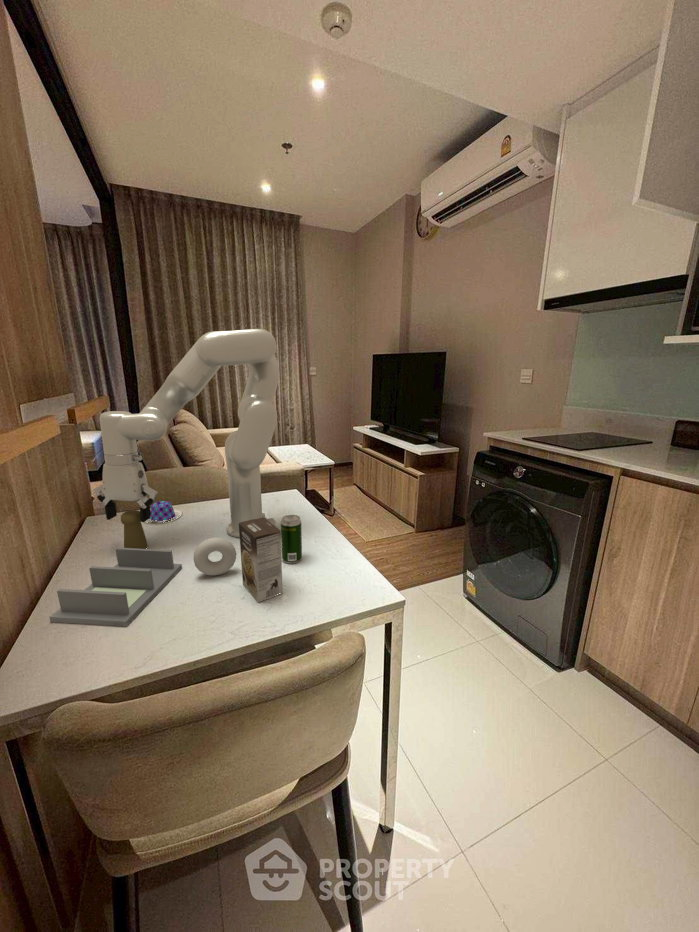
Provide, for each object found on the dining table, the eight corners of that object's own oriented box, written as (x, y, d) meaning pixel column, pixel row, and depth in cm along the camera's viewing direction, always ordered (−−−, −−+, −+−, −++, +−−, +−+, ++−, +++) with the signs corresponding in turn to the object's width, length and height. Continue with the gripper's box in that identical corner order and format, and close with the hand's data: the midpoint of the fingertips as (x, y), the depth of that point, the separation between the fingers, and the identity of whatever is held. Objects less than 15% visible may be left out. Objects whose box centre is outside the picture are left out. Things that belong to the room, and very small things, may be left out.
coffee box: (241, 584, 88) (237, 522, 84) (266, 575, 92) (263, 515, 88) (257, 604, 82) (253, 537, 77) (283, 593, 85) (281, 529, 81)
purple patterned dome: (144, 514, 128) (142, 500, 127) (181, 509, 133) (180, 495, 132) (141, 527, 118) (139, 512, 117) (182, 522, 123) (180, 507, 121)
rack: (182, 568, 95) (179, 546, 93) (126, 626, 74) (122, 600, 72) (122, 565, 96) (118, 543, 94) (50, 622, 75) (44, 596, 73)
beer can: (304, 562, 99) (303, 521, 95) (283, 566, 97) (282, 523, 94) (299, 553, 103) (298, 513, 100) (280, 556, 102) (278, 515, 98)
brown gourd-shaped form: (137, 554, 101) (132, 517, 98) (118, 551, 102) (112, 515, 99) (153, 544, 107) (148, 508, 104) (134, 542, 108) (129, 506, 105)
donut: (195, 581, 89) (190, 544, 87) (195, 574, 92) (191, 537, 90) (238, 574, 92) (235, 538, 90) (237, 567, 96) (234, 532, 93)
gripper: (161, 457, 101) (166, 516, 105) (100, 453, 102) (108, 512, 106) (145, 464, 94) (151, 526, 98) (79, 460, 94) (88, 522, 99)
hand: (128, 519), depth 102 cm, fingers open, 9 cm apart
